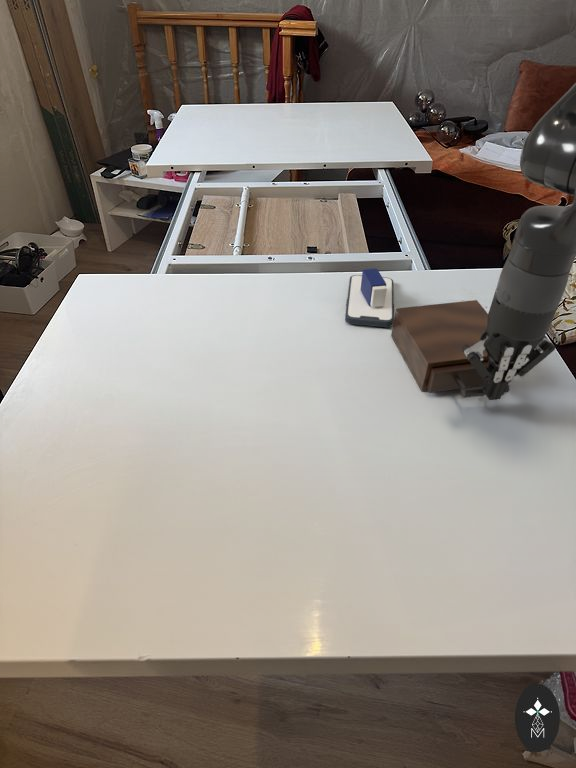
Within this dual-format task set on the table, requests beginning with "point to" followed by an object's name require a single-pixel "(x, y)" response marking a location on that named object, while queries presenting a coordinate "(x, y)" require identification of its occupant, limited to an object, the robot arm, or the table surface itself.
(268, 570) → the table surface
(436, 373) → the drawer
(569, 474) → the table surface
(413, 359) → the cabinet
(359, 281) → the phone case
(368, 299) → the eraser
